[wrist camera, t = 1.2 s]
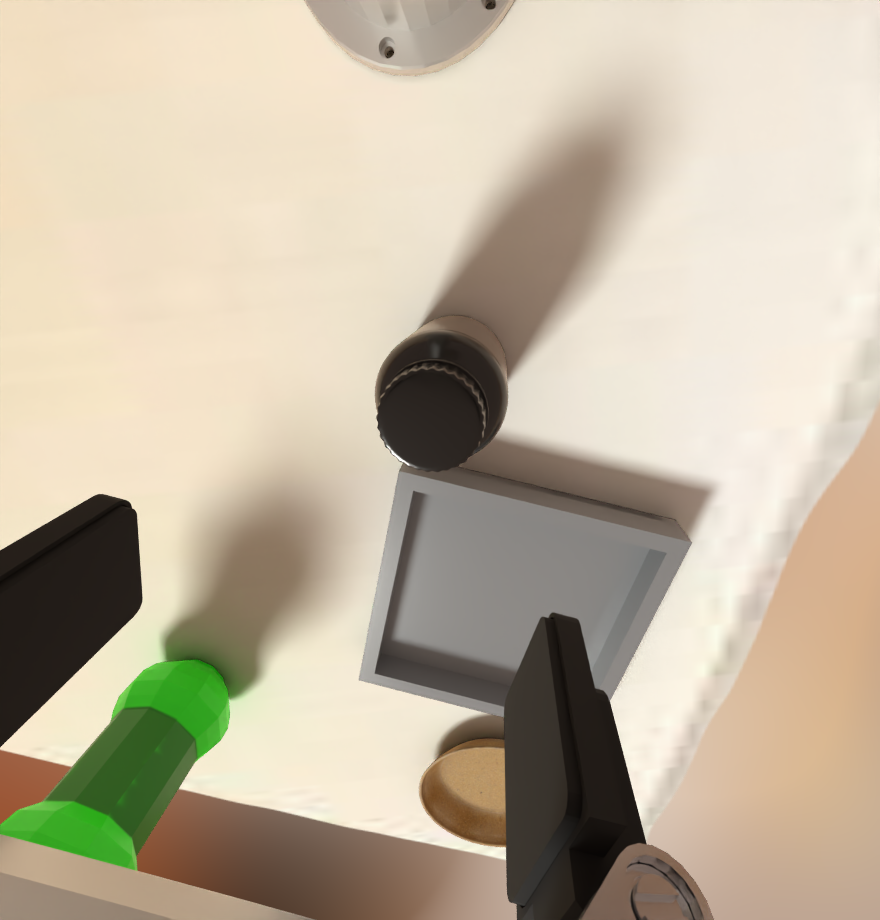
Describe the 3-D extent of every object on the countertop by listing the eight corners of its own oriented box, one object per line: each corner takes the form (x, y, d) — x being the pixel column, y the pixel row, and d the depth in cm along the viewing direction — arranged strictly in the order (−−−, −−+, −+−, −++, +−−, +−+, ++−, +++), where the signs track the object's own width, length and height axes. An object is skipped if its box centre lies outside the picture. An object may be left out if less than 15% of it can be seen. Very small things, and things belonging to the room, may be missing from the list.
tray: (407, 454, 33) (399, 470, 30) (675, 519, 33) (691, 542, 30) (367, 652, 41) (358, 680, 38) (583, 707, 40) (589, 739, 38)
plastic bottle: (195, 726, 48) (-83, 1144, 25) (129, 655, 45) (-258, 1056, 22) (268, 702, 45) (31, 1147, 22) (203, 625, 42) (-151, 1047, 19)
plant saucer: (579, 731, 42) (584, 758, 40) (561, 828, 48) (564, 857, 45) (422, 713, 44) (418, 739, 41) (423, 809, 49) (419, 837, 47)
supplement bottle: (398, 318, 30) (340, 345, 18) (504, 309, 29) (508, 331, 18) (410, 419, 32) (365, 495, 21) (508, 414, 31) (514, 490, 20)
